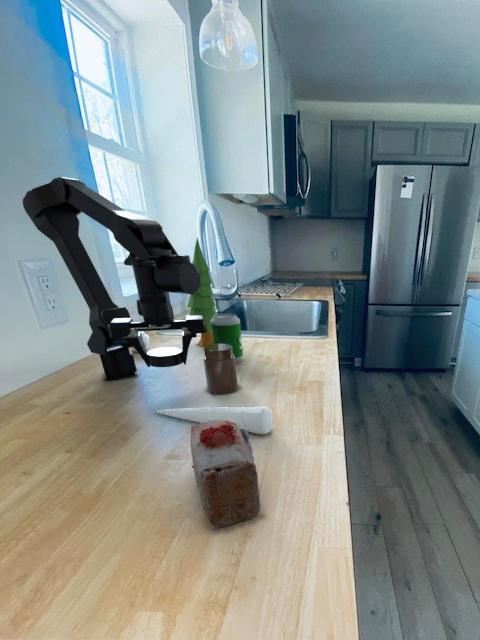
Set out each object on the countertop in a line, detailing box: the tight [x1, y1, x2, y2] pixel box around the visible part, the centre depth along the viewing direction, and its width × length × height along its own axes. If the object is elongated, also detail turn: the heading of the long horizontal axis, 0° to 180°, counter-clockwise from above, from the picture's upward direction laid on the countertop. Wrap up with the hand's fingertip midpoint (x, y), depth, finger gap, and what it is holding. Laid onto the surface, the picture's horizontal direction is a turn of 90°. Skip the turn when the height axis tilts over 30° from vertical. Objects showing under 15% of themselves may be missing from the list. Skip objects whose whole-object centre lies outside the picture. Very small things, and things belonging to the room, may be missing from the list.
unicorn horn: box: [156, 406, 274, 435], centre depth 67 cm, size 5×24×5 cm, turn 69°
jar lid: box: [147, 346, 184, 368], centre depth 80 cm, size 7×7×2 cm
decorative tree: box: [186, 237, 218, 348], centre depth 108 cm, size 10×9×30 cm
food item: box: [190, 420, 261, 528], centre depth 47 cm, size 14×8×10 cm, turn 24°
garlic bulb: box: [130, 331, 150, 353], centre depth 106 cm, size 6×6×7 cm
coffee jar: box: [202, 344, 239, 395], centre depth 80 cm, size 7×7×10 cm
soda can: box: [211, 313, 244, 364], centre depth 98 cm, size 8×8×12 cm
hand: (167, 365), depth 81 cm, fingers closed on jar lid, 7 cm apart
